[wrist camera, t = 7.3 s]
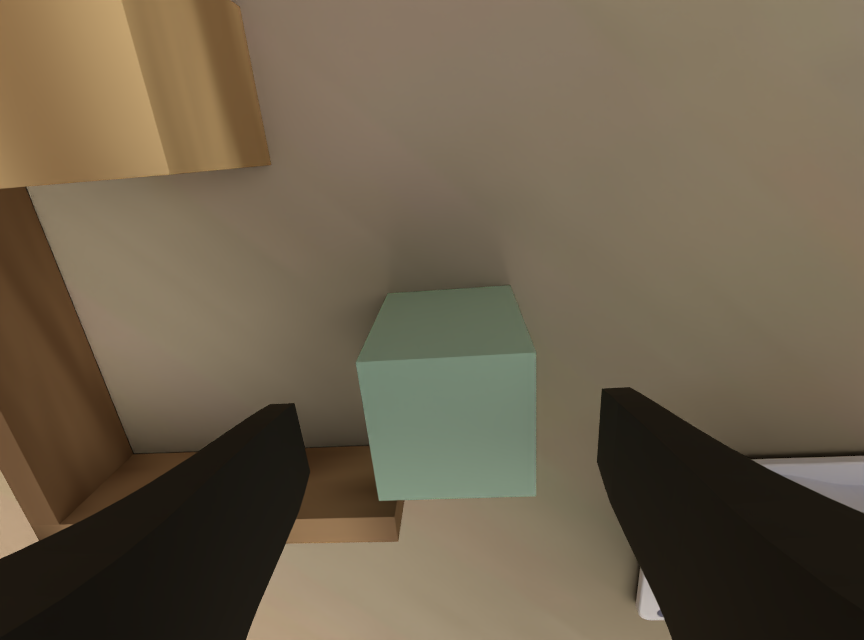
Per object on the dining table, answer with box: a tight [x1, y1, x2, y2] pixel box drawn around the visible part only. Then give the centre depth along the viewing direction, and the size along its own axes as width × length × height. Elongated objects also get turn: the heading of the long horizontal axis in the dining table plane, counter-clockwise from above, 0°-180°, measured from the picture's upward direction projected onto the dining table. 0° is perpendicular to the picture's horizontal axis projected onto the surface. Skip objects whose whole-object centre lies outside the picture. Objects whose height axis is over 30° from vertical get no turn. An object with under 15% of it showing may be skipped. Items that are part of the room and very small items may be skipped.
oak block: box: [0, 0, 271, 189], centre depth 10 cm, size 4×4×5 cm
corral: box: [0, 187, 404, 543], centre depth 12 cm, size 12×19×4 cm, turn 5°
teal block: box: [356, 285, 536, 501], centre depth 13 cm, size 4×4×5 cm
